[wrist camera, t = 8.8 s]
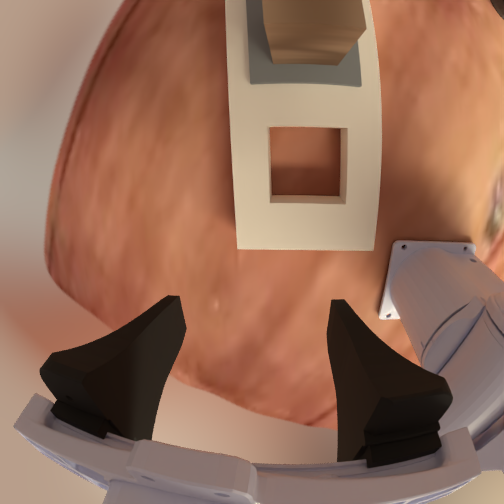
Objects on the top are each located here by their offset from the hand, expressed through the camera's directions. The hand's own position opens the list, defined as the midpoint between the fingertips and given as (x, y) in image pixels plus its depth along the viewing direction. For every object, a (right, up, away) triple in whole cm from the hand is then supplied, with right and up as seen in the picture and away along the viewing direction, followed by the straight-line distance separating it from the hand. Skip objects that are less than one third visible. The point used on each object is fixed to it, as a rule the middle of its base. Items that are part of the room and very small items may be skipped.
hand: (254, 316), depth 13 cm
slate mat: (+3, +17, +1) cm, 17 cm away
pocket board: (+4, +13, +5) cm, 15 cm away
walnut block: (+3, +16, 0) cm, 17 cm away
